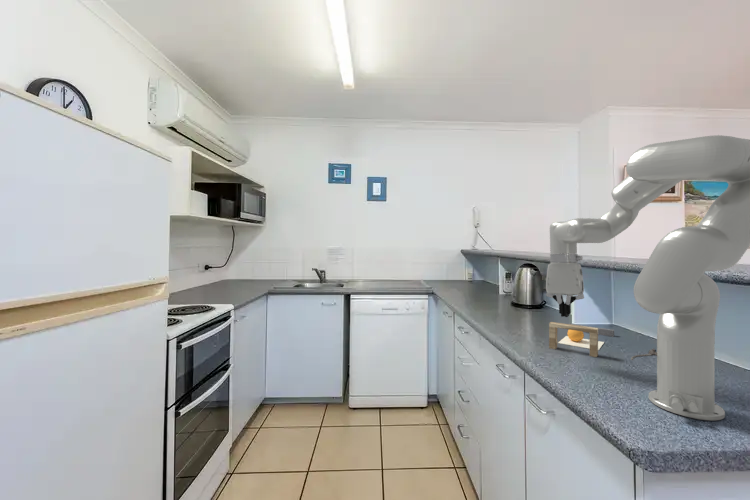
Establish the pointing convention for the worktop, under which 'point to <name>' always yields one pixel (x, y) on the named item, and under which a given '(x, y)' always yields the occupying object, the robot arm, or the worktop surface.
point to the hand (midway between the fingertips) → (565, 316)
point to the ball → (575, 335)
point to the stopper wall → (601, 331)
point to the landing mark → (579, 343)
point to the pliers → (651, 352)
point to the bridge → (592, 331)
